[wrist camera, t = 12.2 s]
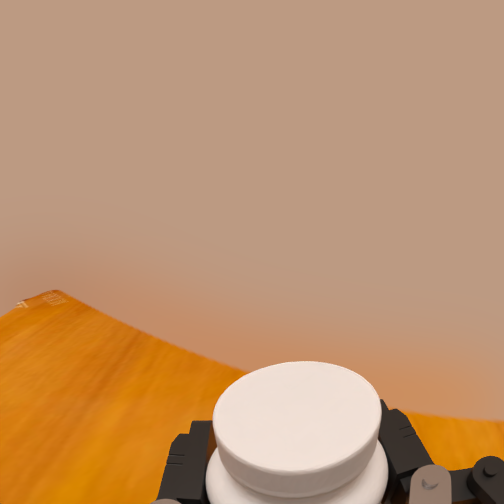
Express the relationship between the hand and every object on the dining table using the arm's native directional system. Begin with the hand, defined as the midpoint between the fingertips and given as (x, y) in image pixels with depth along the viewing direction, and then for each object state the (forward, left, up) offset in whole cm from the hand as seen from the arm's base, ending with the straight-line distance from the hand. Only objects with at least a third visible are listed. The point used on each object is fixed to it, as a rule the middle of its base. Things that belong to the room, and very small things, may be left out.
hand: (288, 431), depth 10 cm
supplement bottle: (0, -3, -6) cm, 7 cm away
